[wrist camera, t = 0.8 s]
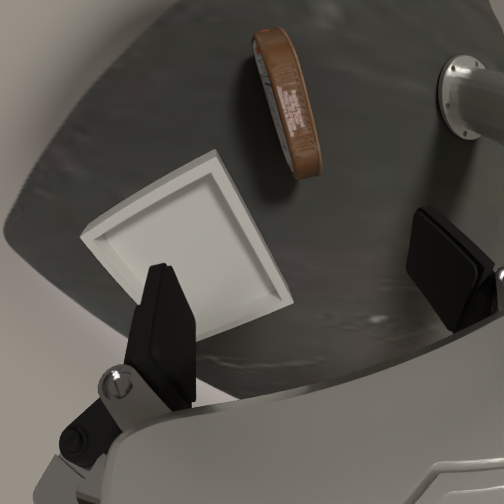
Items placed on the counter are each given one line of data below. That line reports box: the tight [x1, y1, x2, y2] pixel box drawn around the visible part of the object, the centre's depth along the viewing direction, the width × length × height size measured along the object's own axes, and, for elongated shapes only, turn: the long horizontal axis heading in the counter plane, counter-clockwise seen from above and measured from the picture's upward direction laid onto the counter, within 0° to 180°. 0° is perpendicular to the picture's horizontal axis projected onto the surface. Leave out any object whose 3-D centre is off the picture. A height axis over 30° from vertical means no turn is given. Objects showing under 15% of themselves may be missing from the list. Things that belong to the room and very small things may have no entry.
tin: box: [252, 27, 322, 180], centre depth 24 cm, size 15×3×8 cm, turn 16°
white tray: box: [80, 149, 294, 342], centre depth 36 cm, size 18×22×3 cm
